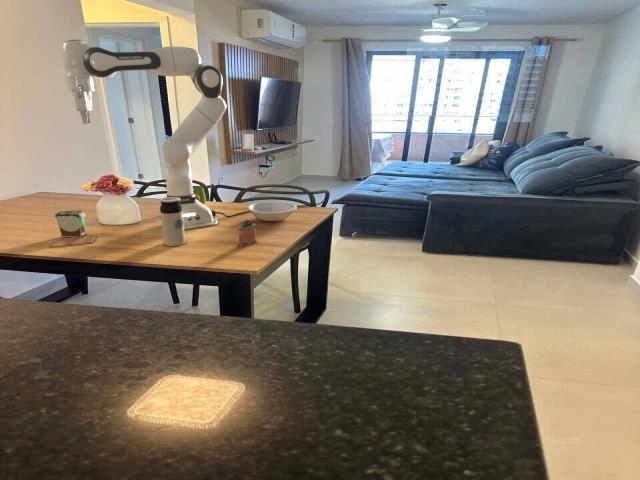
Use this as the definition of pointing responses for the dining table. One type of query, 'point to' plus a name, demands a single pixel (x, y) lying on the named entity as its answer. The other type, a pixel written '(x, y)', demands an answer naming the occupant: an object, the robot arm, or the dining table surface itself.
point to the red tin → (246, 232)
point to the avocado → (200, 194)
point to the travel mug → (172, 221)
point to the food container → (71, 223)
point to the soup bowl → (272, 210)
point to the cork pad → (73, 241)
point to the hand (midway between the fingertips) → (87, 123)
